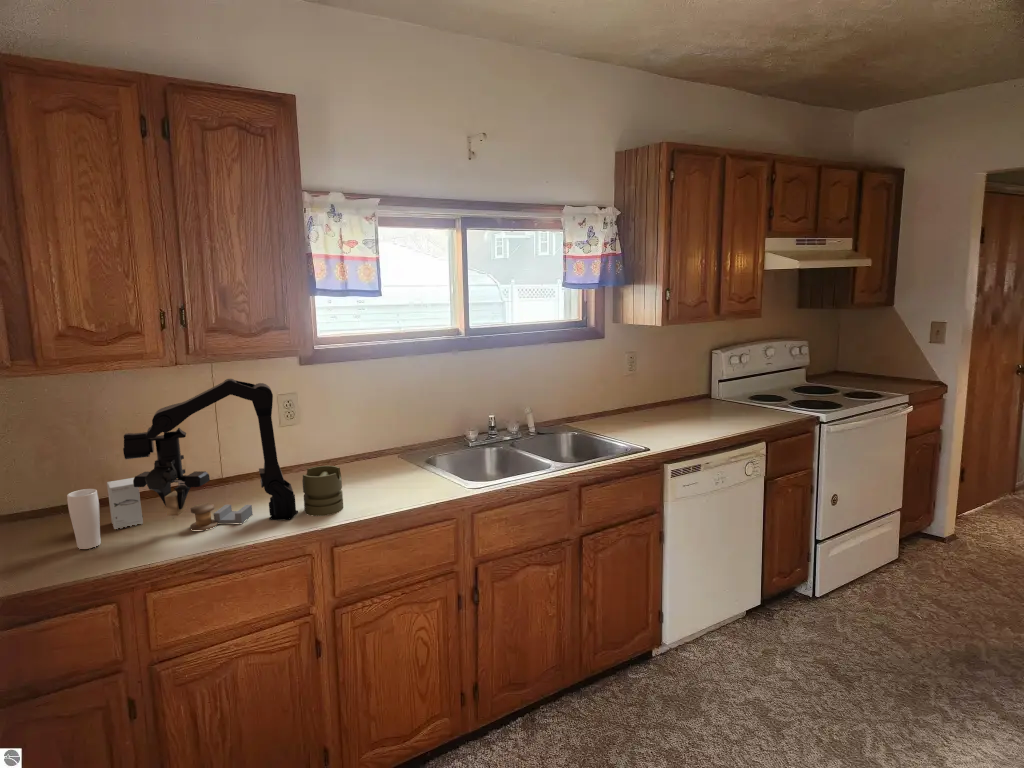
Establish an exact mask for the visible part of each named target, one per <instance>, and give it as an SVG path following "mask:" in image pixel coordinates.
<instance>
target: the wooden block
mask: <svg viewBox="0 0 1024 768" xmlns="http://www.w3.org/2000/svg"><path fill="white" fill-rule="evenodd" d="M165 504H166V506H165V508H166V515H167V516H168V517H172V516H174V517H175V516H176V517H178V516H179V515H181V514H182V513H184V512H186V511H187V503H186V500H185V503H184V505H183V508H182V509H179V506H178V497H177V492H176V490H173V491H171V493H170V494H168V495H167V496H165ZM165 504H164V505H165ZM167 516H166V517H167Z"/></svg>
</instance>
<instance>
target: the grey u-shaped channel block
mask: <svg viewBox="0 0 1024 768" xmlns="http://www.w3.org/2000/svg"><path fill="white" fill-rule="evenodd" d="M252 505H253V504H245V505H244V506H242V507H241V508H240V509H239V510H232V509H233V508H232V504H224V505H223V506H222V507H220V508H219V509H218V510H216V511H215V512H213V520H214V521H217V522H218V523H242V524H244V523H245V522H246V521H247V520H248V519H250V518H251V517H252V516H254V514H253V507H252ZM251 515H252V516H251ZM250 516H251V517H250ZM249 517H250V518H249ZM246 519H247V520H246ZM245 520H246V521H245ZM244 521H245V522H244ZM243 522H244V523H243Z"/></svg>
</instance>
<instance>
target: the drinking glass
mask: <svg viewBox="0 0 1024 768" xmlns="http://www.w3.org/2000/svg"><path fill="white" fill-rule="evenodd" d="M66 499H67V507H68V513H69V517H70V521H71V524H72V525H71V526H72V528H73V532H74V538H75V541H76V547H78V548H79V549H78V548H77V549H78V550H80V549H88V548H92V547H95V548H97V547H96V546H98V545H99V546H100V545H101V543H102V540H101V525H100V524H101V523H100V521H101V520H100V519H101V517H100V501H99V493H98V490H97V489H96V488H84V489H79V490H75V491H72V492H69V493H68V494H67V495H66ZM99 546H98V547H99Z"/></svg>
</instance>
